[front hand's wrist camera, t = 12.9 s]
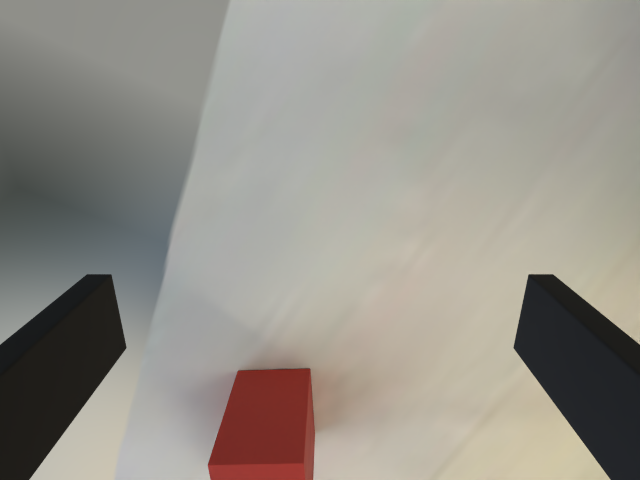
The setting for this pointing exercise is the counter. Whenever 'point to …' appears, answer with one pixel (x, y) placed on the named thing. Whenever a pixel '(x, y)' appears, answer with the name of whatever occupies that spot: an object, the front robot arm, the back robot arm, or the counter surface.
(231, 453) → the brick
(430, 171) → the counter surface
